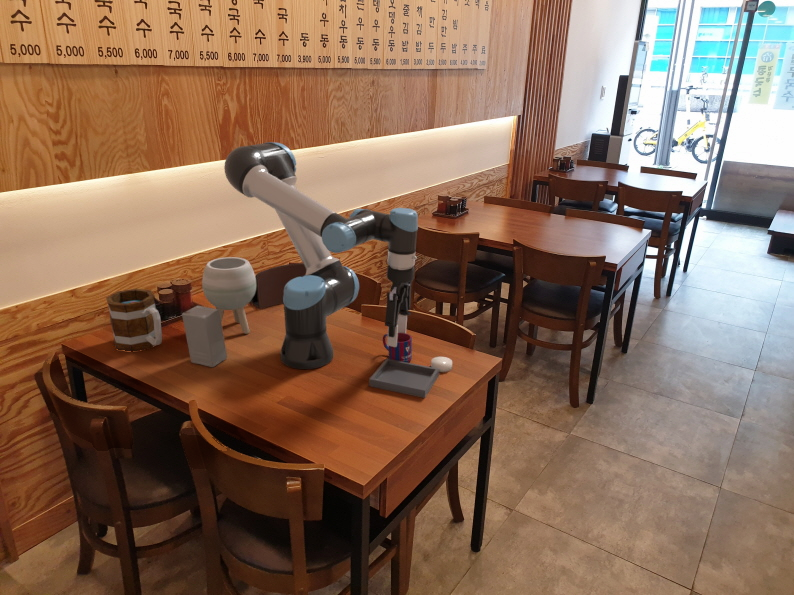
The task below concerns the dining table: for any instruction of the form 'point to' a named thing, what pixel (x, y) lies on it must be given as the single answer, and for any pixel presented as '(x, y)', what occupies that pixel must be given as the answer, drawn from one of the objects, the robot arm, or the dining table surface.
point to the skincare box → (204, 336)
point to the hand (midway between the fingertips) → (396, 340)
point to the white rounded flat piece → (442, 364)
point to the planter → (230, 286)
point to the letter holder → (274, 284)
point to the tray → (404, 378)
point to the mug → (134, 320)
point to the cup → (400, 348)
